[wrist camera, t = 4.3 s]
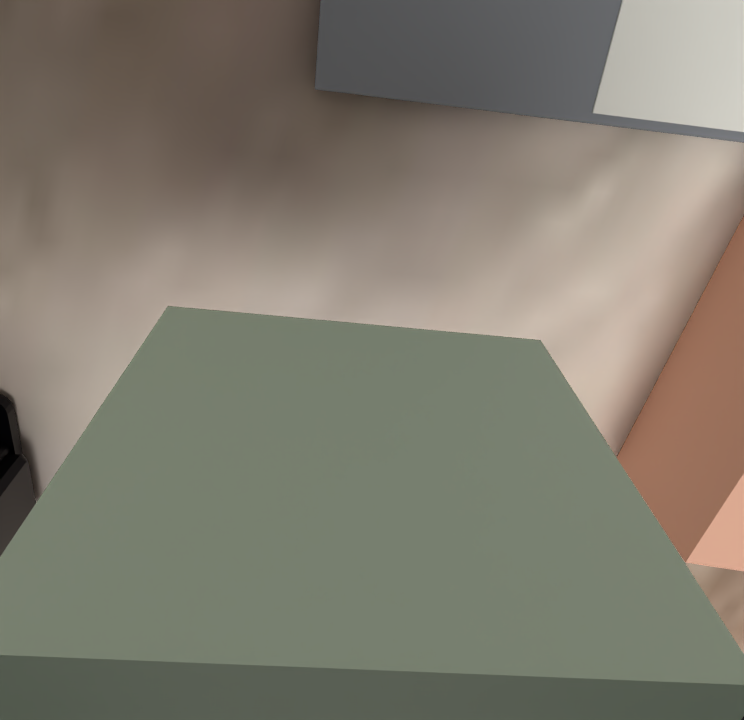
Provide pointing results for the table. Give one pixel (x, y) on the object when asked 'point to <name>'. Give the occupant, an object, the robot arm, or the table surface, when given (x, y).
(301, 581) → the green cube
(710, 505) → the cap block
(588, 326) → the table surface
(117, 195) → the table surface
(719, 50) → the mat
